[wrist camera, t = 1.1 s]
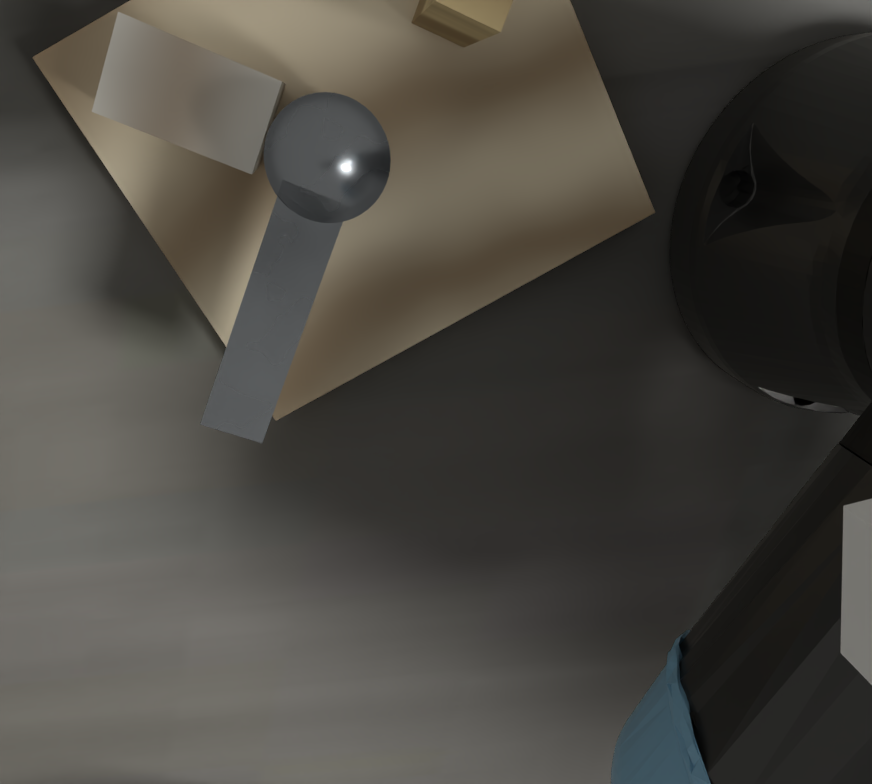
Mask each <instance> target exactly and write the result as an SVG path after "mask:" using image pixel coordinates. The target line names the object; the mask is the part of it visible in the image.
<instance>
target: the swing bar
mask: <svg viewBox="0 0 872 784" xmlns="http://www.w3.org/2000/svg"><path fill="white" fill-rule="evenodd" d="M390 164H391V156H390V148H389V143H388V140H387V137H386V134H385V132H384V130H383V128H382V126H381V124H380V123H379V121H378V120H377V118H376V117H375V116H374V115H373V114H372V112H371V111H369V110H368V109H367V108H366V107H365V106H364V105H362V104H361V103H359V102H358V101H356V100H354V99H352V98H350V97H348V96H345V95H342V94H337V93H332V92H318V93H312V94H308V95H305V96H302V97H300V98H298V99H296V100H294V101H292V102H291V103H290V104H288V105H287V106H285V107H284V108H283V109H282V110H281V111H280V112H279V114H278V115H277V116H276V118H275V119H274V121H273V122H272V124H271V126H270V128H269V131H268V133H267V136H266V140H265V145H264V165H265V170H266V174H267V178H268V180H269V182H270V185H271V187H272V189H273V190H274V192H275V194H276V195H277V198H276V201H275V204H274V207H273V210H272V213H271V216H270V219H269V222H268V225H267V228H266V231H265V234H264V237H263V240H262V243H261V246H260V249H259V252H258V255H257V258H256V261H255V264H254V267H253V270H252V272H251V275H250V278H249V281H248V284H247V287H246V290H245V293H244V296H243V299H242V302H241V305H240V308H239V311H238V314H237V317H236V320H235V323H234V326H233V329H232V332H231V335H230V338H229V341H228V344H227V347H226V349H225V352H224V355H223V358H222V361H221V364H220V367H219V370H218V373H217V376H216V379H215V382H214V385H213V388H212V391H211V394H210V397H209V400H208V403H207V406H206V409H205V412H204V415H203V418H202V421H201V423H200V425H203V426H207V427H210V428H213V429H216V430H220V431H223V432H226V433H230V434H233V435H236V436H239V437H243V438H246V439H249V440H252V441H256V442H259V443H262V442H263V440H264V437H265V434H266V432H267V429H268V426H269V423H270V421H271V418H272V415H273V412H274V410H275V407H276V404H277V401H278V399H279V396H280V393H281V390H282V388H283V385H284V382H285V379H286V377H287V374H288V371H289V368H290V366H291V363H292V360H293V357H294V355H295V352H296V349H297V346H298V344H299V341H300V338H301V335H302V333H303V330H304V327H305V325H306V322H307V319H308V316H309V314H310V311H311V308H312V305H313V303H314V300H315V297H316V294H317V292H318V289H319V286H320V283H321V281H322V278H323V275H324V272H325V270H326V267H327V264H328V261H329V259H330V256H331V253H332V250H333V248H334V245H335V242H336V239H337V237H338V234H339V231H340V228H341V226H342V223H343V221H347V220H350V219H353V218H355V217H357V216H359V215H361V214H362V213H364V212H365V211H367V210H368V209H369V208H370V207H371V206H372V205H373V204H374V203H375V202H376V201H377V199H378V198H379V197H380V195H381V194H382V192H383V190H384V188H385V186H386V183H387V180H388V177H389V172H390Z"/></svg>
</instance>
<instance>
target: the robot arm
mask: <svg viewBox="0 0 872 784" xmlns="http://www.w3.org/2000/svg"><path fill="white" fill-rule="evenodd" d="M670 264H671V274H672V281H673V286H674V292H675V295H676V299H677V303H678V306H679V308H680V311H681V314H682V316H683V318H684V321H685V323H686V325H687V327H688V329H689V330H690V332H691V334H692V336H693V337H694V339H695V340H696V342H697V343H698V345H699V346H700V347H701V348H702V350H703V351H704V352H705V353H706V354H707V355H708V356H709V357H710V358H711V360H712V361H713V362H714V363H716V364H717V365H718V366H719V367H720V368H722V369H723V370H724V371H726V372H727V373H728V374H730V375H731V376H733V377H734V378H736V379H737V380H739V381H740V382H742V383H744V384H745V385H747V386H748V387H750V388H751V389H753V390H755V391H756V392H758V393H760V394H762V395H763V396H766V397H768V398H770V399H772V400H775V401H777V402H780V403H783V404H786V405H788V406H792V407H796V408H799V409H805V410H810V411H819V412H830V413H846V412H850V413H853V414H856V415H861V416H860V417H859V418H858V420H857V421H856V422H855V424H854V425H853V426H852V427H851V429H850V430H849V431H848V433H847V434H846V435H845V436H844V438H843V439H842V440H841V441H840V442H839V444H837V445H836V446H835V447H834V449H833V450H832V451H831V453H830V454H829V455H828V456H827V458H826V459H825V460H824V461H823V463H822V464H821V465H820V467H819V468H818V469H817V470H816V472H815V473H814V474H813V475H812V477H811V478H810V479H809V481H808V482H807V483H806V484H805V486H804V487H803V488H802V489H801V491H800V492H799V493H798V495H797V496H796V497H795V498H794V500H793V501H792V502H791V503H790V505H789V506H788V507H787V509H786V510H785V511H784V512H783V514H782V515H781V516H780V517H779V519H778V520H777V521H776V523H775V524H774V525H773V526H772V528H771V529H770V530H769V531H768V533H767V534H766V535H765V537H764V538H763V539H762V540H761V542H760V543H759V544H758V545H757V547H756V548H755V549H754V551H753V552H752V553H751V554H750V556H749V557H748V558H747V560H746V561H745V562H744V563H743V565H742V566H741V567H740V568H739V570H738V571H737V572H736V574H735V575H734V576H733V577H732V579H731V580H730V581H729V582H728V584H727V585H726V586H725V588H724V589H723V590H722V591H721V593H720V594H719V595H718V596H717V598H716V599H715V600H714V602H713V603H712V604H711V605H710V607H709V608H708V609H707V610H706V612H705V613H704V614H703V616H702V617H701V618H700V619H699V621H698V622H697V623H696V624H695V626H694V627H693V628H692V630H686V631H685V632H684V633H683V634H681V635H680V636H679V637H678V638H677V639H676V640H675V642H674V644H673V646H672V649H671V650H670V651H669V652H668V656H667V664H666V666H665V667H664V669H663V670H662V671H661V673H660V674H659V676H658V677H657V678H656V680H655V681H654V683H653V684H652V686H651V687H650V688H649V690H648V691H647V693H646V694H645V695H644V697H643V698H642V700H641V701H640V703H639V704H638V705H637V707H636V708H635V710H634V711H633V713H632V714H631V715H630V717H629V718H628V720H627V721H626V723H625V725H624V727H623V729H622V731H621V733H620V735H619V737H618V740H617V743H616V747H615V751H614V755H613V761H612V770H611V784H872V32H870V33H862V34H855V35H848V36H842V37H838V38H834V39H830V40H826V41H823V42H820V43H817V44H814V45H812V46H809V47H807V48H804V49H802V50H800V51H798V52H796V53H794V54H792V55H790V56H788V57H786V58H785V59H783V60H781V61H780V62H778V63H776V64H775V65H773V66H772V67H770V68H769V69H768V70H766V71H765V72H763V73H762V74H761V75H760V76H758V77H757V78H756V79H755V80H753V81H752V82H751V83H750V84H749V85H748V86H747V87H745V88H744V89H743V90H742V91H741V92H740V93H739V94H738V95H737V96H736V97H735V98H734V99H733V100H732V101H731V102H730V104H729V105H728V106H727V107H726V108H725V109H724V111H723V112H722V113H721V114H720V115H719V117H718V118H717V119H716V121H715V122H714V124H713V125H712V126H711V128H710V129H709V131H708V132H707V134H706V135H705V137H704V139H703V140H702V142H701V144H700V145H699V147H698V149H697V151H696V153H695V155H694V157H693V159H692V161H691V163H690V165H689V167H688V170H687V172H686V175H685V177H684V180H683V182H682V185H681V189H680V192H679V195H678V198H677V203H676V207H675V211H674V216H673V222H672V230H671V240H670Z"/></svg>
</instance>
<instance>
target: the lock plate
mask: <svg viewBox="0 0 872 784" xmlns="http://www.w3.org/2000/svg"><path fill="white" fill-rule="evenodd" d="M32 58H33V59H34V61H35V62H36V64H37V65H38V67H39V68H40V70H41V71H42V73H43V74H44V76H45V77H46V79H47V80H48V82H49V83H50V85H51V86H52V88H53V89H54V91H55V92H56V94H57V95H58V97H59V98H60V100H61V101H62V103H63V104H64V106H65V107H66V109H67V110H68V112H69V113H70V115H71V116H72V118H73V119H74V121H75V122H76V123H77V125H78V126H79V128H80V129H81V131H82V132H83V134H84V135H85V137H86V138H87V140H88V141H89V143H90V144H91V146H92V147H93V149H94V150H95V152H96V153H97V155H98V156H99V158H100V159H101V161H102V162H103V164H104V165H105V167H106V168H107V170H108V171H109V173H110V174H111V176H112V177H113V179H114V180H115V182H116V183H117V185H118V186H119V188H120V189H121V191H122V192H123V194H124V195H125V197H126V198H127V200H128V201H129V203H130V204H131V206H132V207H133V209H134V210H135V212H136V213H137V215H138V216H139V217H140V219H141V220H142V222H143V223H144V225H145V226H146V228H147V229H148V231H149V232H150V234H151V235H152V237H153V238H154V240H155V241H156V243H157V244H158V246H159V247H160V249H161V250H162V252H163V253H164V255H165V256H166V258H167V259H168V261H169V262H170V264H171V265H172V267H173V268H174V270H175V271H176V273H177V274H178V276H179V277H180V279H181V280H182V282H183V283H184V285H185V286H186V288H187V289H188V291H189V292H190V294H191V295H192V297H193V298H194V300H195V301H196V303H197V304H198V306H199V307H200V309H201V310H202V311H203V313H204V314H205V316H206V317H207V319H208V320H209V322H210V323H211V325H212V326H213V328H214V329H215V331H216V332H217V334H218V335H219V337H220V338H221V340H222V341H223V343H224V344H225V346H226V347H227V344H228V341H229V338H230V335H231V332H232V329H233V326H234V323H235V320H236V317H237V314H238V311H239V308H240V305H241V302H242V299H243V296H244V293H245V290H246V287H247V284H248V281H249V278H250V275H251V272H252V270H253V267H254V264H255V261H256V258H257V255H258V252H259V249H260V246H261V243H262V240H263V237H264V234H265V231H266V228H267V225H268V222H269V219H270V216H271V213H272V210H273V207H274V204H275V201H276V198H277V195H276V194H275V192H274V190H273V189H272V187H271V185H270V182H269V180H268V178H267V174H266V170H265V165H264V145H265V140H266V136H267V133H268V131H269V128H270V126H271V124H272V122H273V121H274V119H275V118H276V116H277V115H278V114H279V112H280V111H281V110H282V109H283V108H284V107H285V106H287V105H288V104H290V103H291V102H292V101H294V100H296V99H298V98H300V97H302V96H305V95H308V94H312V93H318V92H332V93H337V94H342V95H345V96H348V97H350V98H352V99H354V100H356V101H358V102H359V103H361V104H362V105H364V106H365V107H366V108H367V109H368V110H369V111H371V112H372V114H373V115H374V116H375V117H376V118H377V120H378V121H379V123H380V124H381V126H382V128H383V130H384V132H385V134H386V137H387V140H388V143H389V148H390V156H391V164H390V172H389V177H388V180H387V183H386V186H385V188H384V190H383V192H382V194H381V195H380V197H379V198H378V199H377V201H376V202H375V203H374V204H373V205H372V206H371V207H370V208H369V209H368V210H367V211H365V212H364V213H362V214H361V215H359V216H357V217H355V218H353V219H350V220H347V221H343V223H342V226H341V228H340V231H339V234H338V237H337V239H336V242H335V245H334V248H333V250H332V253H331V256H330V259H329V261H328V264H327V267H326V270H325V272H324V275H323V278H322V281H321V283H320V286H319V289H318V292H317V294H316V297H315V300H314V303H313V305H312V308H311V311H310V314H309V316H308V319H307V322H306V325H305V327H304V330H303V333H302V335H301V338H300V341H299V344H298V346H297V349H296V352H295V355H294V357H293V360H292V363H291V366H290V368H289V371H288V374H287V377H286V379H285V382H284V385H283V388H282V390H281V393H280V396H279V399H278V401H277V404H276V407H275V410H274V412H273V415H272V416H273V417H274V419H275V420H278V419H280V418H282V417H284V416H286V415H287V414H289V413H291V412H293V411H295V410H296V409H298V408H300V407H302V406H304V405H306V404H307V403H309V402H311V401H313V400H315V399H317V398H318V397H320V396H322V395H324V394H326V393H327V392H329V391H331V390H333V389H335V388H337V387H338V386H340V385H342V384H344V383H346V382H347V381H349V380H351V379H353V378H355V377H357V376H358V375H360V374H362V373H364V372H366V371H367V370H369V369H371V368H373V367H375V366H377V365H378V364H380V363H382V362H384V361H386V360H388V359H389V358H391V357H393V356H395V355H397V354H398V353H400V352H402V351H404V350H406V349H408V348H409V347H411V346H413V345H415V344H417V343H418V342H420V341H422V340H424V339H426V338H428V337H429V336H431V335H433V334H435V333H437V332H439V331H440V330H442V329H444V328H446V327H448V326H449V325H451V324H453V323H455V322H457V321H459V320H460V319H462V318H464V317H466V316H468V315H469V314H471V313H473V312H475V311H477V310H479V309H480V308H482V307H484V306H486V305H488V304H490V303H491V302H493V301H495V300H497V299H499V298H500V297H502V296H504V295H506V294H508V293H510V292H511V291H513V290H515V289H517V288H519V287H520V286H522V285H524V284H526V283H528V282H530V281H531V280H533V279H535V278H537V277H539V276H540V275H542V274H544V273H546V272H548V271H550V270H551V269H553V268H555V267H557V266H559V265H561V264H562V263H564V262H566V261H568V260H570V259H571V258H573V257H575V256H577V255H579V254H581V253H582V252H584V251H586V250H588V249H590V248H591V247H593V246H595V245H597V244H599V243H601V242H602V241H604V240H606V239H608V238H610V237H612V236H613V235H615V234H617V233H619V232H621V231H622V230H624V229H626V228H628V227H630V226H632V225H633V224H635V223H637V222H639V221H641V220H642V219H644V218H646V217H648V216H650V215H652V214H653V213H655V211H654V208H653V206H652V203H651V201H650V198H649V196H648V193H647V191H646V188H645V186H644V183H643V181H642V178H641V176H640V173H639V171H638V168H637V166H636V163H635V161H634V158H633V156H632V153H631V151H630V148H629V146H628V143H627V141H626V138H625V136H624V133H623V131H622V128H621V126H620V123H619V121H618V118H617V116H616V113H615V111H614V108H613V106H612V103H611V101H610V98H609V96H608V93H607V91H606V88H605V86H604V83H603V81H602V78H601V76H600V73H599V71H598V68H597V66H596V64H595V61H594V59H593V56H592V54H591V51H590V49H589V46H588V44H587V41H586V39H585V36H584V34H583V31H582V29H581V26H580V24H579V21H578V19H577V16H576V14H575V11H574V9H573V6H572V4H571V1H570V0H130V1H128V2H126V3H125V4H123V5H121V6H120V7H118V8H116V9H114V10H113V11H111V12H109V13H107V14H106V15H104V16H102V17H101V18H99V19H97V20H95V21H94V22H92V23H90V24H89V25H87V26H85V27H83V28H82V29H80V30H78V31H77V32H75V33H73V34H71V35H70V36H68V37H66V38H64V39H63V40H61V41H59V42H58V43H56V44H54V45H52V46H51V47H49V48H47V49H46V50H44V51H42V52H40V53H39V54H37V55H35V56H34V57H32Z"/></svg>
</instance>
